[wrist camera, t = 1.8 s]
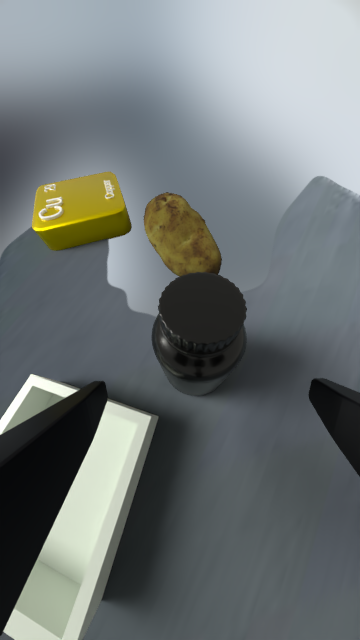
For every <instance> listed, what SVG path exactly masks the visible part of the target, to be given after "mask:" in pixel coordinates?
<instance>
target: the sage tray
mask: <svg viewBox="0 0 360 640" xmlns="http://www.w3.org/2000/svg"><path fill="white" fill-rule="evenodd" d="M78 390H80V389H79V388H77V387H74V386H71V385H68V384H65V383H62V382H59V381H56V380H52V379H48V378H44V377H41V376H37V375H33V374H31V375H30V377H29V378H28V380H27V381H26V383H25V384H24V386H23V387H22V389H21V390H20V392H19V393H18V395H17V396H16V398H15V399H14V401H13V402H12V404H11V405H10V407H9V408H8V410H7V411H6V413H5V414H4V416H3V417H2V419H1V420H0V435H1V434H3V433H4V432H6V431H8V430H10V429H11V428H13V427H15V426H17V425H18V424H20V423H22V422H24V421H25V420H27V419H29V418H31V417H33V416H34V415H36V414H38V413H40V412H41V411H43V410H45V409H47V408H48V407H50V406H52V405H54V404H55V403H57V402H59V401H61V400H62V399H64V398H66V397H68V396H69V395H71V394H73V393H75V392H76V391H78ZM158 418H159V416H156V415H153V414H151V413H148V412H145V411H142V410H139V409H136V408H134V407H131V406H128V405H125V404H122V403H119V402H116V401H114V400H111V399H108V400H107V404H106V406H105V409H104V412H103V415H102V418H101V420H100V423H99V426H98V429H97V431H96V434H95V437H94V439H93V441H92V443H91V446H90V448H89V450H88V452H87V454H86V456H85V458H84V461H83V463H82V465H81V467H80V469H79V471H78V473H77V475H76V478H75V480H74V482H73V484H72V486H71V488H70V490H69V492H68V495H67V497H66V499H65V501H64V503H63V505H62V507H61V510H60V512H59V514H58V516H57V518H56V520H55V522H54V524H53V527H52V529H51V531H50V533H49V535H48V537H47V539H46V541H45V544H44V546H43V548H42V550H41V552H40V554H39V556H38V559H37V561H36V563H35V565H34V567H33V569H32V571H31V573H30V576H29V578H28V580H27V582H26V584H25V586H24V588H23V591H22V593H21V595H20V597H19V599H18V601H17V603H16V605H15V608H14V610H13V612H12V614H11V616H10V618H9V620H8V622H7V625H6V627H5V629H4V631H3V632H5V633H6V634H8V635H9V636H11V637H12V638H13V639H15V640H83V638H84V636H85V634H86V632H87V630H88V628H89V626H90V623H91V621H92V619H93V617H94V615H95V613H96V611H97V609H98V607H99V605H100V602H101V600H102V597H103V594H104V590H105V587H106V584H107V581H108V578H109V574H110V571H111V568H112V565H113V562H114V558H115V555H116V552H117V549H118V546H119V542H120V539H121V536H122V533H123V530H124V526H125V523H126V520H127V517H128V514H129V510H130V507H131V504H132V501H133V498H134V494H135V491H136V488H137V485H138V482H139V478H140V475H141V472H142V469H143V466H144V462H145V459H146V456H147V453H148V450H149V446H150V443H151V440H152V437H153V434H154V430H155V427H156V424H157V421H158Z"/></svg>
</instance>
